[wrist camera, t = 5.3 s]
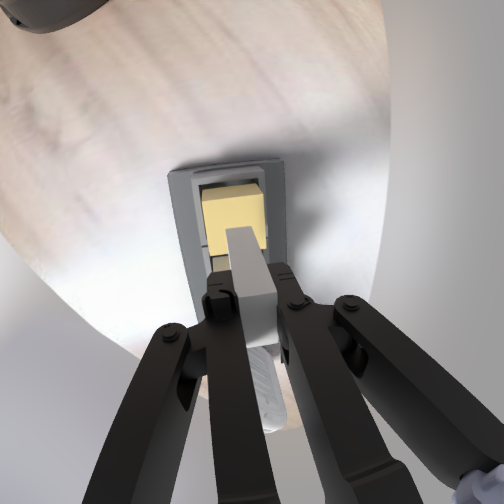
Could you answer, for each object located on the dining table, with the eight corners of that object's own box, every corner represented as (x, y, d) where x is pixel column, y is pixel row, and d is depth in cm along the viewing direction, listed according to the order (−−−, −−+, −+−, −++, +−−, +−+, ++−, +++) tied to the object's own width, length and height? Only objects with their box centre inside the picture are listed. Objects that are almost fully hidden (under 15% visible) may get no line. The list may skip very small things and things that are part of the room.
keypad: (169, 171, 23) (162, 181, 19) (279, 158, 24) (291, 166, 20) (200, 322, 31) (200, 346, 28) (283, 310, 32) (292, 332, 29)
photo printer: (200, 333, 32) (203, 421, 21) (226, 315, 31) (238, 406, 21) (251, 368, 37) (267, 443, 26) (275, 354, 36) (297, 430, 25)
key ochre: (202, 189, 20) (201, 201, 17) (255, 183, 20) (263, 193, 18) (209, 238, 22) (209, 256, 19) (259, 231, 22) (266, 248, 19)
